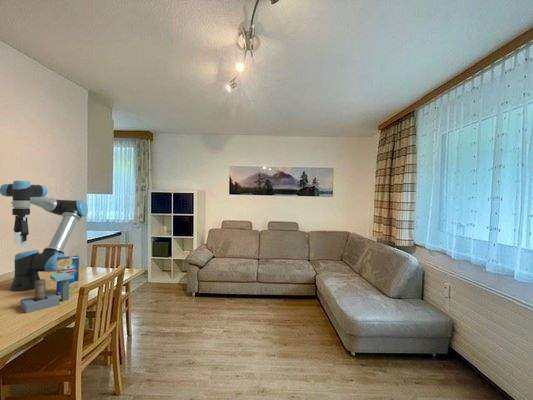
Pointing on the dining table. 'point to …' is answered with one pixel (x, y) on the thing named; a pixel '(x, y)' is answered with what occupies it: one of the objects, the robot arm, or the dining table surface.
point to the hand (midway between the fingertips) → (20, 245)
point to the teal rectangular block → (62, 284)
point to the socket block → (39, 303)
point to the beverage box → (70, 267)
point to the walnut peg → (39, 290)
